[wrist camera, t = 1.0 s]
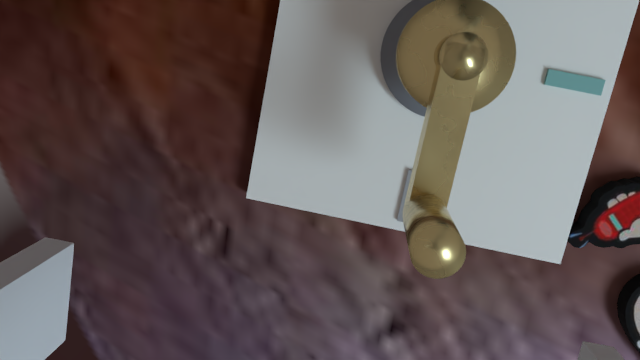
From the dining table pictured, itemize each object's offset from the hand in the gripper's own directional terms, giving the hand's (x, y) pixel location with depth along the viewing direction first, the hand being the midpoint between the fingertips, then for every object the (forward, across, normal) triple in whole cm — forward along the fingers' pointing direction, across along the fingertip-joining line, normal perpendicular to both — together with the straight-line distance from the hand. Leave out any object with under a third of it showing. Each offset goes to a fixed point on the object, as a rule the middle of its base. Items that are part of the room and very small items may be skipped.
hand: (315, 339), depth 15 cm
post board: (+27, +5, +8) cm, 29 cm away
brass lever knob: (+22, +5, +5) cm, 23 cm away
